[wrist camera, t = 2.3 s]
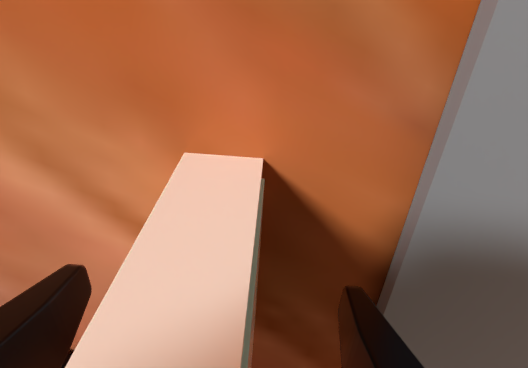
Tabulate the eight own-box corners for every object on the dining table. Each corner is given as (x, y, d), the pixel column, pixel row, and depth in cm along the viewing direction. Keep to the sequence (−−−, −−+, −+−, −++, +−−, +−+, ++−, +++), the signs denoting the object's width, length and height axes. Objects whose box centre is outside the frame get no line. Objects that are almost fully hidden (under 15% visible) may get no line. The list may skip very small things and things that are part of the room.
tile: (255, 314, 12) (227, 660, 6) (195, 309, 12) (105, 648, 6) (266, 158, 9) (230, 560, 3) (184, 152, 9) (-30, 537, 3)
